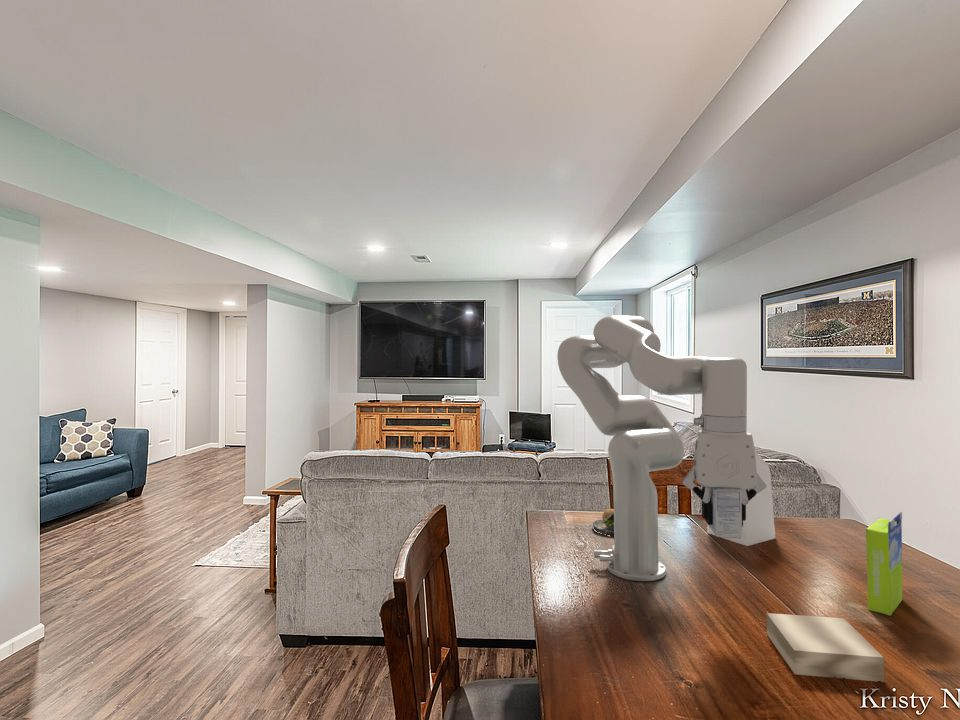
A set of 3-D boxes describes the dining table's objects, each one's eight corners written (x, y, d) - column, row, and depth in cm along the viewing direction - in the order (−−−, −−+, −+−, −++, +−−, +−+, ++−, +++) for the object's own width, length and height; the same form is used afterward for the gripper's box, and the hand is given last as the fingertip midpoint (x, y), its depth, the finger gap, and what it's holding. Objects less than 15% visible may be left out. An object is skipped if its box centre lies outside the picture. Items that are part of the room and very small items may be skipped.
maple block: (794, 677, 80) (794, 650, 80) (766, 636, 92) (766, 613, 92) (884, 684, 78) (883, 657, 78) (843, 642, 90) (843, 618, 90)
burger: (612, 540, 141) (612, 512, 141) (583, 529, 151) (583, 502, 151) (645, 533, 147) (645, 506, 147) (615, 522, 157) (615, 497, 157)
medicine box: (742, 539, 94) (742, 490, 94) (715, 537, 95) (715, 489, 95) (730, 525, 102) (731, 479, 102) (705, 523, 103) (706, 478, 102)
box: (879, 593, 107) (878, 507, 107) (905, 600, 104) (903, 511, 104) (865, 610, 100) (864, 517, 100) (892, 617, 97) (891, 522, 97)
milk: (707, 532, 146) (705, 437, 146) (734, 526, 151) (733, 434, 151) (747, 546, 135) (745, 443, 135) (775, 538, 140) (773, 439, 141)
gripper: (679, 426, 96) (679, 527, 96) (781, 428, 93) (780, 532, 93) (672, 421, 103) (671, 514, 103) (766, 422, 100) (765, 519, 100)
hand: (723, 522), depth 98 cm, fingers closed on medicine box, 4 cm apart
